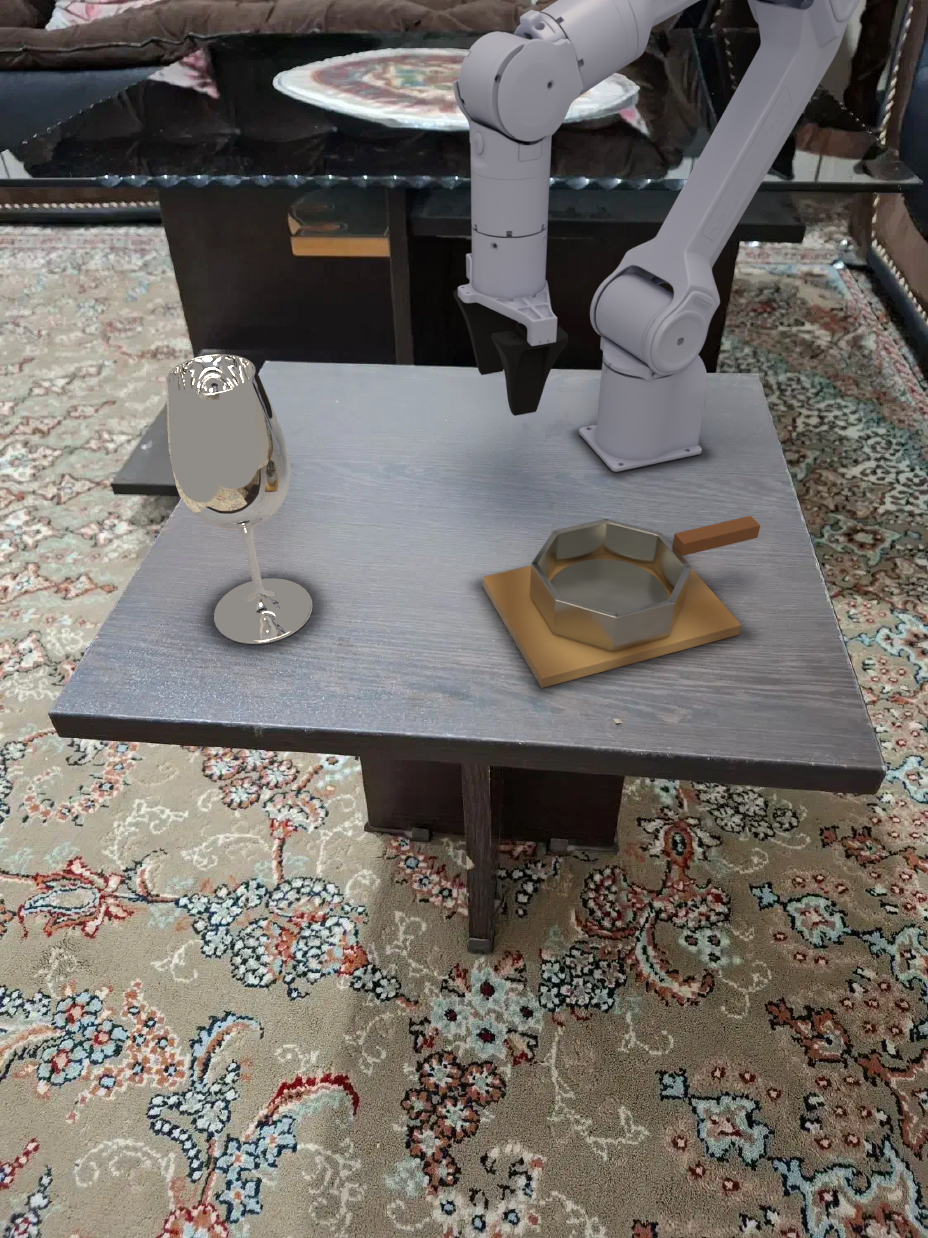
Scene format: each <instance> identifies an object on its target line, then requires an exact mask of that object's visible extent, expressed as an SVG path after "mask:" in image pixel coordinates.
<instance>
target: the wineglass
mask: <svg viewBox="0 0 928 1238" xmlns="http://www.w3.org/2000/svg"><path fill="white" fill-rule="evenodd" d="M166 425H167V439H168V440H167V443H168V445H167V446H168V454H169V455H168V456H169V461H170V468H171V473H172V478H173V482H174V484H175V487H176V490H177V492H178V495H179V498H180V499H181V500H182V502H183V503H184V504H185V506H186V508H188V510H189V511H190V512H191V513H192V514H194V515H195V516H196V517H197V518H199V519H200V520H202V521H203V522H205V523H206V524H209V525H211V526H213V527H218V528H221V529H225V530H228V531H229V530H230V531H238V533H239V535H240V538H241V540H242V544H243V547H244V551H245V554H246V560H247V563H248V568H249V572H250V577H251V580H250V581H247V582H245V583H242V584H239V585H238V586H236V587H234V588H232V589H231V590H229V591H228V592H227V593H225V594H224V595H223V596H222V597H221V599H220V600H219V601H218V602H217V604H216V606H215V609H214V611H213V612H214V613H213V622H214V624H215V627H216V629H217V630H218V632H220V634H222V635H223V636H224V637H226V638H227V639H229V640H231V641H234V642H236V643H240V644H247V645H262V644H269V643H273V642H277V641H281V640H283V639H285V638H287V637H289V636H292V634H294V633H296V632H298V631H299V630H300V629H301V628H302V627H303V626H305V624H306V623H308V622H307V621H308V620H309V619H310V617H311V614H312V612H313V606H314V605H313V599H312V597H311V595H310V593H309V592H308V591H307V589H306V588H305V587H304V586H302V585H300V584H299V583H296V582H294V581H291V580H288V579H284V578H276V577H275V578H273V577H271V578H270V577H269V578H268V577H267V578H262V576H261V575H262V574H261V570H260V565H259V562H258V556H257V552H256V547H255V541H254V527H257V526H259V525H261V524H263V523H264V522H266V521H267V520H269V519H270V518H271V517H272V516H273V515H275V514H276V512H278V511H279V510H280V508H281V506H282V504H283V502H284V501H285V499H286V497H287V496H288V493H289V490H290V489H289V488H290V484H291V480H292V470H291V462H290V461H291V459H290V455H289V450H288V447H287V444H286V443H287V442H286V439H285V437H284V434H283V431H282V427H281V426H280V423H279V420H278V417H277V414H276V412H275V409H274V407H273V405H272V402H271V401H270V397H269V395H268V393H267V391H266V389H265V387H264V383H263V382H262V380H261V377H260V375H259V372H258V370H257V368H256V366H255V364H254V363H253V362H252V361H250V360H249V359H247V358H245V357H243V356H240V355H234V354H228V353H227V354H226V353H221V354H220V353H219V354H218V353H216V354H215V353H214V354H207V355H201V356H197V357H193V358H190V359H188V360H184V361H183V362H181V363H179V364H177V365H176V366H174V367H173V368H172V369H171V370H170V371H169V372H168V374H167V376H166Z"/></svg>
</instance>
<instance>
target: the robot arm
mask: <svg viewBox="0 0 928 1238" xmlns="http://www.w3.org/2000/svg"><path fill="white" fill-rule="evenodd" d="M699 1H701V0H556V1H555V2H553V3H551V4H550V5H548V6H547V7H545V8H543V9H542V10H541V11H538V10H534V9H529V10H527V11H526V12H525V13H523V14H521V16H520V17H519V23H520V24H519V25H517V26H516V29H515V31H514V32H513V33H510V32H506V31H492V32H488V33H486V34H484V35H482V36H481V37H480V38H478V39H477V40H476V41H475V42H474V43H473V44H472V45H471V47H470V48H469V49H468V53H467V55H466V56H464V58H463V60H462V65H461V67H460V70H459V71H460V72H459V78H458V79H456V80H454V81H453V84H452V87H453V94H454V98H455V102H456V104H457V106H458V109H459V110H460V111H461V113H462V114H463V116H464V117H465V119H466V120H467V124H468V126H469V127H468V128H469V143H470V206H471V208H470V212H471V213H470V217H471V219H470V220H471V252H470V253H466V254H465V269H466V270H465V272H466V275H465V276H466V278H467V279H468V280H469V283H467V284H462V285H459V286H458V287H457V289H455V290H454V291H453V298H454V299H455V301H456V303H457V305H458V307H459V309H460V311H461V313H462V315H463V318H464V321H465V323H466V326H467V327H466V328H467V330H468V333H469V337H470V342H471V346H472V352H473V356H474V360H475V363H476V367H477V370H478V373H479V374H480V375H481V376H484V375H490V374H491V375H492V374H495V373H501V372H504V377H505V388H506V396H507V402H508V407H509V411H510V413H511V414H512V416H514V417H516V416H521V415H526V414H527V415H528V414H532V413H536V412H537V410H538V408H539V405H540V402H541V399H542V396H543V394H544V393H543V392H544V389H545V386H546V382H547V380H548V377H549V375H550V372H551V370H552V369H553V366H554V365H555V363H556V361H557V359H558V358H559V356H560V354H561V353H562V352H563V351H564V349H565V348H566V346H567V345H568V342H569V341H568V339H569V335H568V333H567V332H566V330H564V329H563V328H562V327H561V326H558V317H557V316H556V314H555V313H554V312H553V309H552V304H551V303H552V302H551V297H550V289H549V284H548V280H547V279H546V274H547V250H548V225H549V223H548V222H549V200H550V178H551V159H552V139H553V137H552V136H553V135H554V134H555V133H556V132H557V131H558V129H559V128H560V127H561V125H562V124H563V123H564V121H565V119H566V117H567V115H568V113H569V109H570V107H571V105H572V104H573V102H575V100H577V99H578V98H580V97H581V96H583V95H585V93H587V92H588V91H590V90H591V89H593V88H594V87H596V86H597V85H599V84H601V83H602V82H603V81H605V80H607V79H608V78H610V77H611V76H613V75H614V74H616V73H618V72H619V71H620V70H622V69H624V68H626V66H628V65H630V64H631V63H633V62H635V61H636V60H637V59H639V58H641V56H642V55H643V54H644V52H645V50H646V48H647V45H648V43H649V39H650V36H651V31H652V28H653V27H656V26H657V25H659V24H661V23H662V22H664V21H666V20H668V19H669V18H672V17H673V16H675V15H677V14H678V13H680V12H682V11H684V10H686V9H688V8H689V7H691V6H693V5H695V4H697V3H698V2H699ZM861 2H862V0H747V3H748V6H749V8H750V12H751V15H752V16H753V19H754V21H755V23H756V24H758V31H759V36H760V45H759V48H758V50H757V51H756V53H755V55H754V57H753V59H752V60H751V63H750V65H749V66H748V67H747V70H746V72H745V73H744V75H743V77H742V79H741V81H740V83H739V84H738V86H737V88H736V90H735V92H734V93H733V94H732V96H731V99H730V100H729V103H728V104H727V106H726V108H725V110H724V112H723V113H722V116H721V117H720V119H719V121H718V122H717V124H716V127H715V128H714V130H713V132H712V134H710V135H711V136H710V137H709V139H708V141H707V143H706V144H705V146H704V148H703V150H702V152H701V154H700V155H699V157H698V160H697V161H696V163H695V164H694V166H693V168H692V170H691V172H690V174H689V175H688V177H687V179H686V180H685V183H684V185H683V187H682V188H681V190H680V192H679V194H678V195H677V198H676V199H675V201H674V203H673V204H672V206H671V209H670V210H669V212H668V214H667V216H666V217H665V219H664V221H663V223H662V225H661V226H660V229H659V230H658V232H657V234H656V235H655V237H653V238H652V239H650V240H648V241H646V242H643V243H641V244H639V245H637V246H634V247H632V248H631V249H629V250H627V251H626V253H625V254H624V256H623V258H622V259H621V261H620V263H619V265H618V266H617V267H616V269H615V270H614V271H613V272H612V273H611V274H609V275H608V276H607V277H606V278H605V279H604V280H603V281H602V283H600V284H599V286H598V288H597V289H596V291H595V293H594V295H593V297H592V300H591V304H590V308H589V319H590V324H591V326H592V328H593V330H594V332H596V334H597V335H599V336H600V344H599V345H600V347H599V349H600V350H601V351H602V362H601V373H600V383H599V393H598V403H597V415H596V416H597V417H596V424H593V425H588V426H583V427H580V428H579V429H578V435H580V436H581V437H582V438H583V440H584V441H585V442H586V443H587V444H588V445H589V447H590V448H591V449H592V450H593V451H594V452H595V453H596V455H597V456H598V457H599V458H600V459H601V460H602V461H603V462H604V464H605V465H606V466H607V467H608V468H609V469H610V470H611V471H612V472H617V473H618V472H622V471H626V470H631V469H637V468H641V467H645V466H651V465H656V464H659V463H660V464H661V463H665V462H669V461H675V460H678V459H683V458H687V457H692V456H693V457H694V456H697V455H701V454H702V452H703V448H702V447H701V446H700V444H699V441H700V435H701V431H702V424H703V419H704V414H705V408H706V403H707V397H708V388H709V383H708V382H709V381H708V373H707V369H706V366H705V363H704V361H703V359H702V358H701V356H700V355H699V354H700V352H701V351H702V349H703V347H704V345H705V342H706V339H707V336H708V332H709V328H710V324H711V321H712V319H713V316H714V314H715V313H716V311H717V309H718V308H719V306H720V305H721V299H720V294H719V291H718V288H717V284H716V281H715V278H714V277H715V276H714V274H713V267H714V265H715V263H716V262H717V260H718V258H719V257H720V254H721V253H722V252H723V249H724V248H725V246H726V245H727V243H728V241H729V239H730V238H731V236H732V234H733V232H734V231H735V229H736V227H737V225H738V224H739V222H740V220H741V218H742V217H743V216H744V213H745V212H746V210H747V208H748V207H749V205H750V203H751V202H752V200H753V198H754V196H755V194H756V193H757V191H758V189H759V188H760V186H761V185H762V182H764V179H765V178H766V176H767V174H768V173H769V171H770V169H771V168H772V166H773V164H774V162H775V160H776V159H777V157H778V155H779V153H781V150H782V148H783V146H784V145H785V144H786V141H787V140H788V138H789V137H790V134H791V133H792V131H793V129H794V128H795V126H796V124H797V122H798V120H799V119H800V117H801V116H802V113H803V112H804V111H805V109H806V107H807V106H808V103H809V102H810V100H811V98H812V97H813V95H814V93H815V91H816V90H817V88H818V86H819V85H820V83H821V82H822V80H823V78H824V76H825V74H826V73H827V71H828V69H829V68H830V66H831V64H832V62H833V61H834V58H835V57H836V55H837V53H838V51H839V48H840V46H841V44H842V40H843V37H844V35H845V32H846V29H847V26H848V23H849V22H850V20H851V18H852V16H853V15H854V13H855V11H856V9H858V6H859V4H860V3H861ZM664 283H665V284H668V285H670V286H671V287H672V289H673V292H672V291H670V290H668V289H666V288H665V287H663V286H662V285H660V284H664ZM513 320H514V321H516V322H517V323H516V326H515V327H516V329H511V327H512V323H513Z"/></svg>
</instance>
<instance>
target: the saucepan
mask: <svg viewBox="0 0 928 1238" xmlns="http://www.w3.org/2000/svg"><path fill="white" fill-rule="evenodd" d="M760 528H761V524H759V522H758V521H756V519H754V518H753V517H752V516H751V515H747V516H743V517H739V518H734V519H729V520H725V521H721V522H718V523H714V524H708V525H705V526H700V527H696V528H692V529H688V530H687V529H686V530H683V531H679V532H675V533H674V535H673V539H672V540H673V541H672V543H671V541H669V539H668V538H667V537H666V536H665V534H664V533H663V532H661V531H657V530H652V529H647V528H644V527H640V526H636V525H632V524H628V523H624V522H620V521H617V520H613V519H609V518H603V519H598V520H596V521H591V522H586V523H582V524H581V523H580V524H576V525H571V526H568V527H564V528H559V529H555V530H553V531H552V532H551V534H550V535H549V537H548V538H547V540H546V541H545V543H544V544H543V545H542V547H541V549H540V550H539V552H538V553H537V554H536V556H535V557H534V559H533V560H532V562H531V563H530V566H531V580H530V597H531V598H532V600H533V601H534V603H535V605H536V606H537V608H538V609H539V611H540V613H541V614H542V616H543V617H544V619H545V620H546V622H547V624H548V625H549V627H550V628H551V630H552V632H553V633H555V634H558V635H561V636H565V637H568V638H571V639H574V640H578V641H581V642H584V643H588V644H591V645H594V646H597V647H601V648H604V649H607V650H610V651H614V650H618V649H622V648H626V647H629V646H633V645H637V644H641V643H644V642H648V641H652V640H656V639H660V638H663V637H667V636H669V634H670V632H671V630H672V627H673V625H674V623H675V621H676V619H677V616H678V614H679V612H680V610H681V608H682V605H683V603H684V601H685V598H686V593H687V588H688V583H689V578H690V573H691V568H692V566H691V565H690V563H689V562H688V561H687V560H686V559H685V558H684V557H685V556H688V555H689V556H690V555H692V554H696V553H701V552H705V551H708V550H713V549H718V548H721V547H726V546H730V545H734V544H737V543H742V542H746V541H751V540H754V539H755V540H756V539H758V537H759V533H760ZM599 555H607V556H611V557H614V558H618V559H622V560H626V561H629V562H633V563H637V564H640V565H644V566H648V567H652V568H653V569H654V570H655V571H656V573H657V574H658V575H659V576H660V578H661V579H662V580H663V581H664V582H665V584H666V585H667V586H668V587H669V589H670V590H671V591H672V594H671V596H670V598H669V600H668V595H667V592H666V590H665V588H664V586H663V585H662V583H661V582H660V581H659V580H658V579H657V578H656V577H655V576H654V575H652V574H651V573H650V572H648V571H647V570H645V569H643V568H641V567H639V566H636V565H634V564H631V563H628V562H624V561H619V560H612V559H592V560H585V561H581V562H577V563H574V564H572V565H569V566H567V567H565V568H563V569H562V570H561V571H559V572H558V573H557V574H556V575H555V576H554V577H553V578H552V580H551V581H549V579H548V577H549V576H550V574H551V573H552V571H553V570H554V568H555V567H556V565H561V564H565V563H569V562H573V561H578V560H582V559H586V558H590V557H594V556H599ZM692 569H693V568H692Z"/></svg>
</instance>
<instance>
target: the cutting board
mask: <svg viewBox="0 0 928 1238" xmlns="http://www.w3.org/2000/svg"><path fill="white" fill-rule="evenodd" d="M592 559H612V560H619V561H624V562H628V563H631V564H634V565H636V566H639V567H641V568H643V569H645V570H647V571H648V572H650V573H651V574H652V575H654V576H655V577H656V578H657V579H658V580H659V581H660V582H661V583H662V585H663V586H664V588H665V590H666V592H667V595H668V600H669V598H670V596H671V594H672V591H671V590H670V589H669V587H668V586H667V585H666V584H665V582H664V581H663V580H662V579H661V578H660V576H659V575H658V574H657V573H656V571H655V570H654V569H653V568H652V567H648V566H644V565H640V564H637V563H633V562H629V561H626V560H622V559H618V558H614V557H611V556H607V555H599V556H594V557H590V558H586V559H582V560H578V561H573V562H569V563H565V564H561V565H556V567H555V568H554V570H553V571H552V573H551V574H550V576H549V577H548V579H549V581H551V580H552V578H553V577H554V576H555V575H556V574H557V573H558V572H559V571H561V570H562V569H563V568H565V567H567V566H569V565H572V564H574V563H577V562H581V561H585V560H592ZM530 580H531V565H527V566H523V567H518V568H514V569H510V570H506V571H502V572H498V573H492V574H489V575H484V576H482V588H483V590H484V591H485V593H486V595H487V597H488V598H489V600H490V601H491V603H492V605H493V607H494V608H495V610H496V612H497V614H498V616H499V617H500V619H501V621H502V622H503V625H504V626H505V628H506V630H507V631H508V633H509V635H510V636H511V638H512V640H513V642H514V643H515V645H516V647H517V649H518V650H519V652H520V654H521V655H522V657H523V659H524V661H525V662H526V665H527V666H528V668H529V669H530V671H531V673H532V675H533V677H534V678H535V680H536V681H537V683H538V685H539V687H540V689H543V688H547V687H552V686H554V685H559V684H562V683H565V682H570V681H573V680H577V679H581V678H583V677H587V676H591V675H595V674H598V673H603V672H606V671H610V670H614V669H617V668H621V667H625V666H629V665H631V664H632V665H633V664H636V663H640V662H644V661H647V660H651V659H654V658H658V657H662V656H666V655H669V654H673V653H676V652H680V651H684V650H688V649H691V648H695V647H698V646H703V645H706V644H709V643H714V642H716V641H720V640H725V639H729V638H731V637H735V636H736V637H737V636H739V635H740V631H741V628H742V624H741V623H740V622H739V621H738V619H737V618H736V617H735V616H734V615H733V613H732V612H731V611H730V610H729V609H728V608H727V606H725V605H724V603H723V602H722V601H721V600H720V599H719V597H718V596H717V595H716V594H715V593H714V592H713V591H712V590H711V588H710V587H709V586H708V585H707V584H706V583H705V581H704V580H703V579H702V578H701V577H700V575H698V573H697V572H696V571H695V570H694V569H693V568H691V573H690V578H689V583H688V588H687V593H686V598H685V601H684V603H683V605H682V608H681V610H680V612H679V614H678V616H677V619H676V621H675V623H674V625H673V627H672V630H671V632H670V634H669V636H667V637H663V638H660V639H656V640H652V641H648V642H644V643H641V644H637V645H633V646H629V647H626V648H622V649H618V650H614V651H610V650H607V649H604V648H601V647H597V646H594V645H591V644H588V643H584V642H581V641H578V640H574V639H571V638H568V637H565V636H561V635H558V634H555V633H553V632H552V630H551V628H550V627H549V625H548V624H547V622H546V620H545V619H544V617H543V616H542V614H541V613H540V611H539V609H538V608H537V606H536V605H535V603H534V601H533V600H532V598H531V597H530Z"/></svg>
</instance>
